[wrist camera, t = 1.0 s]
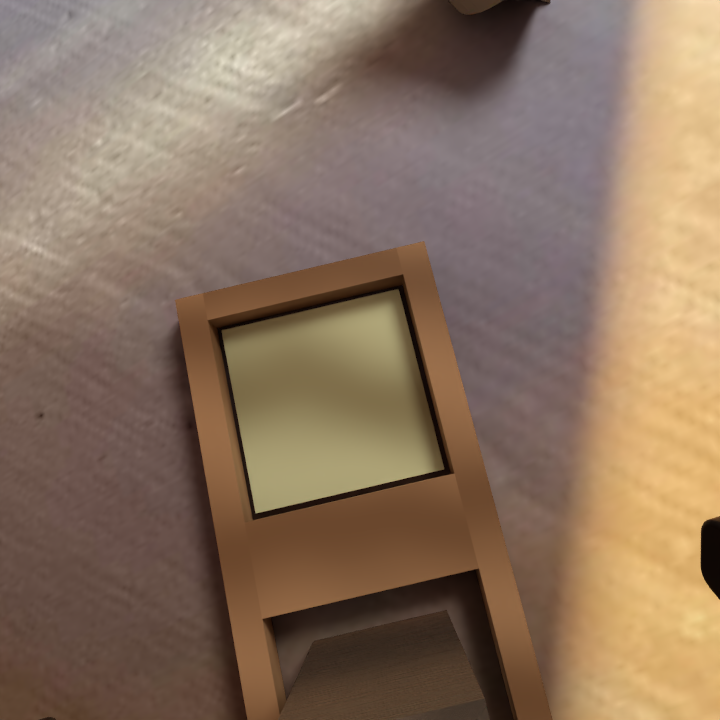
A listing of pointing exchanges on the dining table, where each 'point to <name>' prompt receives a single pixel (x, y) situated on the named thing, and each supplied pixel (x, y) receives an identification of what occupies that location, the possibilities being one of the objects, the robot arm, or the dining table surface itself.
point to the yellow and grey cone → (475, 5)
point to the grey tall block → (388, 675)
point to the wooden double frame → (343, 458)
